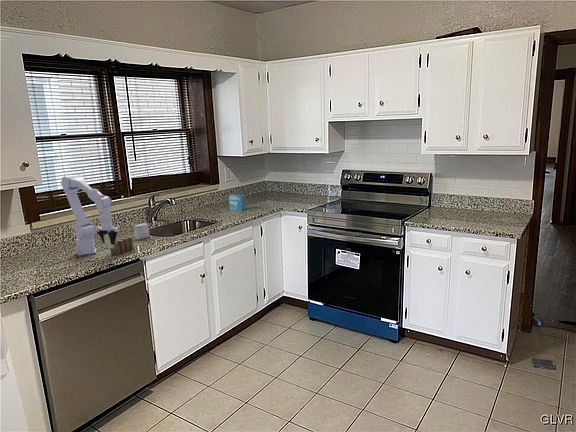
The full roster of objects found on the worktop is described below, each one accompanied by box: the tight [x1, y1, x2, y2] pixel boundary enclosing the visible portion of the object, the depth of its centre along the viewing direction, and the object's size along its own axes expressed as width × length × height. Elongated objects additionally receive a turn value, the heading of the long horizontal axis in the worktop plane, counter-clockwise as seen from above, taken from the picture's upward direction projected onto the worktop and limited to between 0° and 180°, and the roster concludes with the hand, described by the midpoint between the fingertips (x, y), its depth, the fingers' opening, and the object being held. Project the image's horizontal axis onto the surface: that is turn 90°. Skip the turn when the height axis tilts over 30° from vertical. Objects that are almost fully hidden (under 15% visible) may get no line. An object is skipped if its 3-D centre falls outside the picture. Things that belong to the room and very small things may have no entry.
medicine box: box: [133, 222, 150, 240], centre depth 273 cm, size 8×4×9 cm, turn 141°
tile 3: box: [115, 239, 126, 254], centre depth 244 cm, size 2×5×7 cm, turn 67°
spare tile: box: [103, 234, 114, 249], centre depth 236 cm, size 2×5×7 cm, turn 67°
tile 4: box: [109, 242, 121, 256], centre depth 241 cm, size 2×5×7 cm, turn 67°
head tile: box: [123, 235, 135, 250], centre depth 250 cm, size 2×5×7 cm, turn 67°
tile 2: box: [118, 237, 130, 252], centre depth 247 cm, size 2×5×7 cm, turn 67°
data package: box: [228, 194, 246, 211], centre depth 352 cm, size 12×4×12 cm, turn 63°
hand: (109, 243), depth 237 cm, fingers closed on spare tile, 5 cm apart
